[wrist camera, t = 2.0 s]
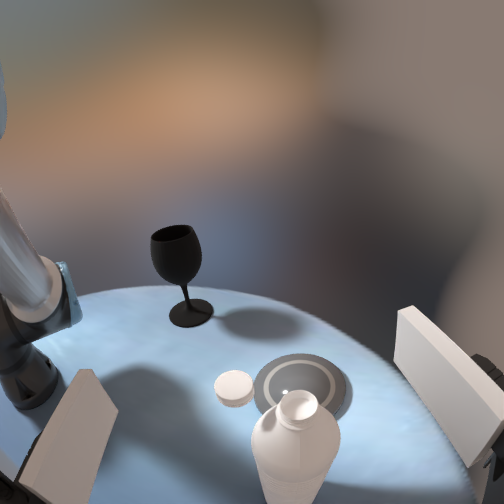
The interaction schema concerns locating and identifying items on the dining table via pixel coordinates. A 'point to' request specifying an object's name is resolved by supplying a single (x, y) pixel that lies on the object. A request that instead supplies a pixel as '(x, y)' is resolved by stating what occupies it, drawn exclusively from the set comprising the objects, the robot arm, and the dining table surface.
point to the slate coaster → (299, 381)
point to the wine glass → (180, 270)
